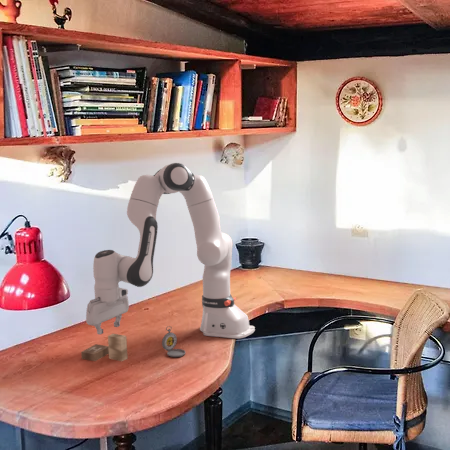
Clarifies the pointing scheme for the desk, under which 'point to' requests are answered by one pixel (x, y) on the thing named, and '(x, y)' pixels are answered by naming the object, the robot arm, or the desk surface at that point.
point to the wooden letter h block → (95, 352)
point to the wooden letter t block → (117, 347)
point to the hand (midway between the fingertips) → (108, 330)
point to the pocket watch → (171, 345)
